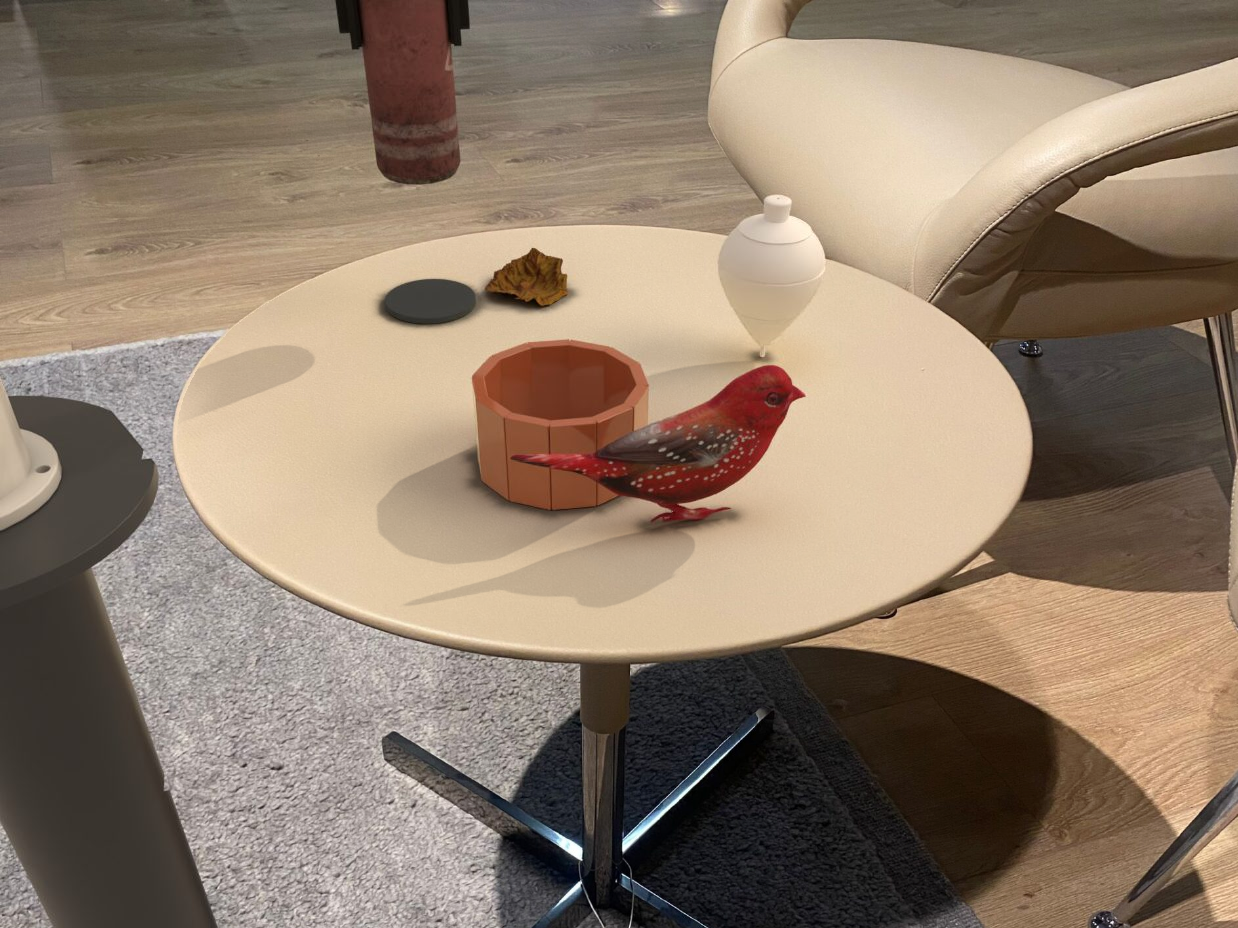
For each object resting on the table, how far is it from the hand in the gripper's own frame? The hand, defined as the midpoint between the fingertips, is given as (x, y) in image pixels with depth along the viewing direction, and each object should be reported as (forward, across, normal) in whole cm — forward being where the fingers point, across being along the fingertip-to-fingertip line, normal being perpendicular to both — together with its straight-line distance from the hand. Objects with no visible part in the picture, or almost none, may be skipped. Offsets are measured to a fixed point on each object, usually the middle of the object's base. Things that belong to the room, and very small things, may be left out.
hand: (405, 40), depth 83 cm
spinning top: (+20, -24, +13) cm, 33 cm away
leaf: (+20, -8, -1) cm, 21 cm away
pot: (+20, -7, +25) cm, 32 cm away
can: (+9, 0, 0) cm, 9 cm away
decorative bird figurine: (+20, -12, +33) cm, 40 cm away
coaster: (+20, 0, 0) cm, 20 cm away
